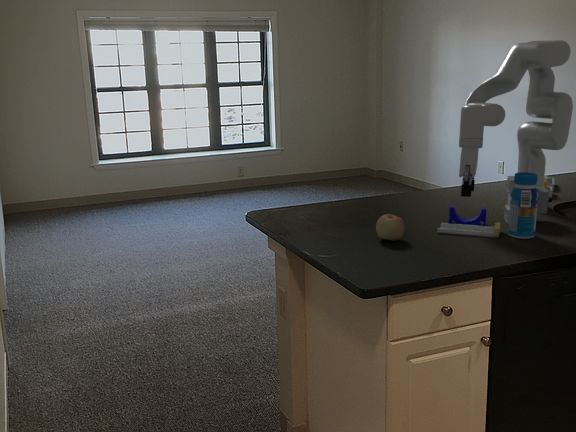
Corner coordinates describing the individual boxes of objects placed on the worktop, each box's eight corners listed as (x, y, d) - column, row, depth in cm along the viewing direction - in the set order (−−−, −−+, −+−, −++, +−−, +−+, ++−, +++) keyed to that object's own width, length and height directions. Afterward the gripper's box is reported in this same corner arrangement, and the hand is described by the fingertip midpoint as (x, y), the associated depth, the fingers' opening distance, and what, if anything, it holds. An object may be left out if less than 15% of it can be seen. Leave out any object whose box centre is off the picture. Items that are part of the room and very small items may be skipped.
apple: (382, 235, 207) (382, 211, 205) (408, 238, 203) (408, 214, 201) (371, 242, 200) (372, 217, 198) (398, 245, 195) (399, 220, 193)
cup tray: (517, 182, 280) (518, 175, 279) (553, 184, 275) (554, 177, 274) (516, 189, 267) (516, 182, 266) (554, 191, 262) (554, 184, 261)
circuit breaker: (551, 224, 215) (554, 180, 211) (506, 223, 217) (509, 180, 214) (547, 218, 222) (550, 176, 218) (504, 217, 224) (507, 175, 221)
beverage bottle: (502, 235, 204) (506, 174, 198) (517, 230, 208) (521, 170, 203) (525, 241, 197) (530, 177, 192) (541, 235, 202) (546, 174, 197)
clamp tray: (508, 191, 264) (508, 184, 263) (551, 193, 258) (552, 186, 257) (507, 195, 256) (507, 188, 256) (551, 198, 250) (552, 190, 250)
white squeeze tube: (440, 227, 214) (441, 218, 214) (500, 231, 208) (500, 222, 207) (437, 233, 208) (437, 224, 207) (498, 237, 201) (499, 228, 200)
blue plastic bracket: (448, 225, 217) (449, 208, 215) (449, 222, 221) (450, 205, 219) (485, 227, 213) (486, 210, 212) (485, 224, 217) (486, 207, 216)
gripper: (462, 139, 218) (459, 188, 222) (455, 145, 203) (452, 197, 207) (484, 140, 216) (481, 189, 220) (480, 146, 200) (476, 199, 204)
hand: (467, 193), depth 213 cm, fingers open, 9 cm apart
